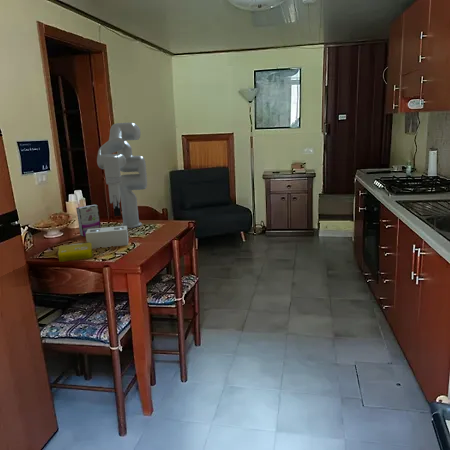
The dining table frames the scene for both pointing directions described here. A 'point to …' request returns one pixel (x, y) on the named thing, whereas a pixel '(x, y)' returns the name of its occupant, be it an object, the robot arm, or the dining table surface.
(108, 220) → the dining table surface
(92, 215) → the candy bar box
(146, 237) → the dining table surface
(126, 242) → the pin block
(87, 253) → the element tile
